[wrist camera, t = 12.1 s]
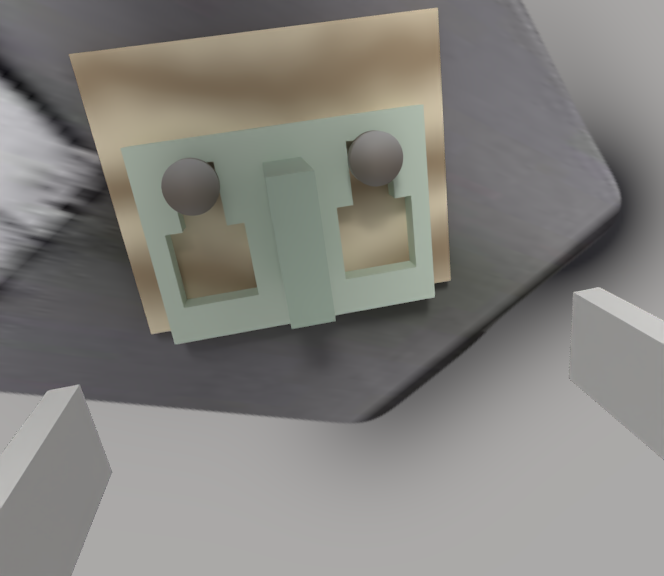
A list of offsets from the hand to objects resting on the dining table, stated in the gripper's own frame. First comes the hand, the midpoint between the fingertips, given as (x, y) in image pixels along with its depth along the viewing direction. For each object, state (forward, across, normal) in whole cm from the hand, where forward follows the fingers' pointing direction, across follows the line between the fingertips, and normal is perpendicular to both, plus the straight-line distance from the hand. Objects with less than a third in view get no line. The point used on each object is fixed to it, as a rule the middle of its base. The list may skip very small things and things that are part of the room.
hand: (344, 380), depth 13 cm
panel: (+22, 0, -1) cm, 22 cm away
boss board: (+22, 0, +2) cm, 23 cm away
